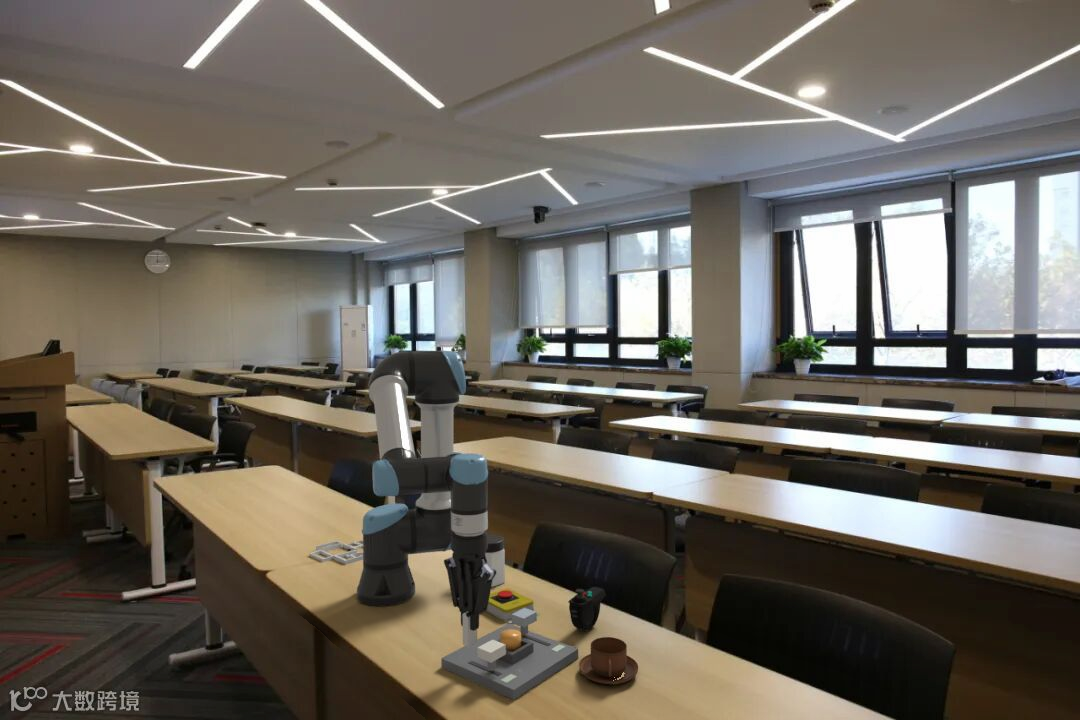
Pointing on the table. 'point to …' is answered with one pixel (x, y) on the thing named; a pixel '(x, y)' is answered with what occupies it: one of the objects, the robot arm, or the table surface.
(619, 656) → the cup and saucer
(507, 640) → the amber button
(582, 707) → the table surface
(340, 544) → the floor plan model
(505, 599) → the emergency button
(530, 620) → the slate lever
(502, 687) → the control panel
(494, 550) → the jar
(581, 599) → the controller
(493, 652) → the off-white rectangular box
